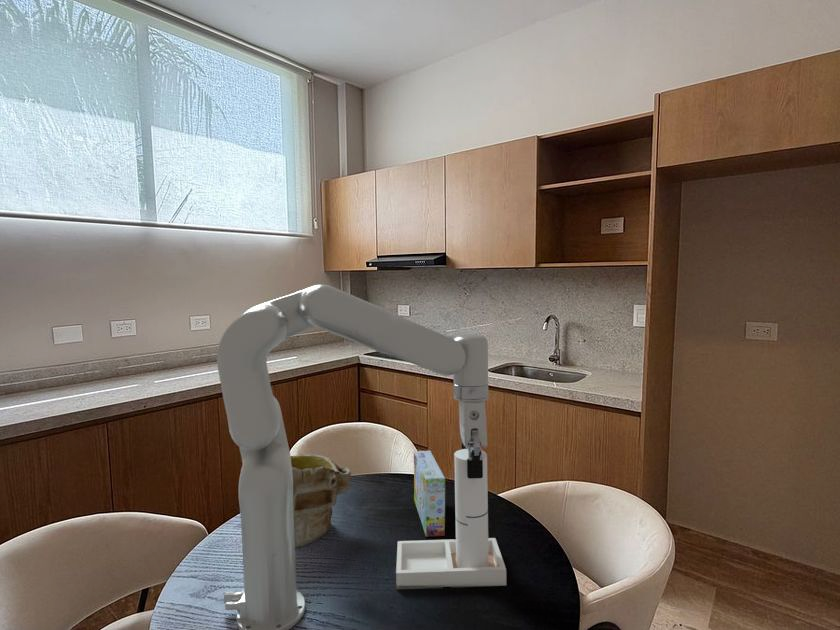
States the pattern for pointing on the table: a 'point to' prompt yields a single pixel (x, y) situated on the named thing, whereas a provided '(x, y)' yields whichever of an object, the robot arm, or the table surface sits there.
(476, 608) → the table surface
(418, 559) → the two-bay tray
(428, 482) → the snack box
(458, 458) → the cylindrical container
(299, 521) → the ceramic vessel
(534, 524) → the table surface
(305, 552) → the table surface
